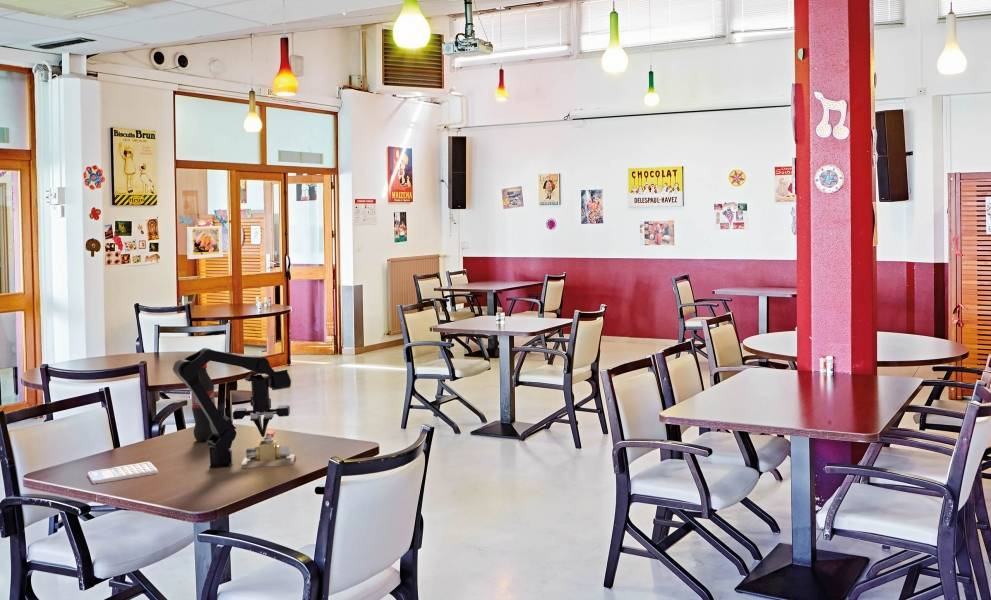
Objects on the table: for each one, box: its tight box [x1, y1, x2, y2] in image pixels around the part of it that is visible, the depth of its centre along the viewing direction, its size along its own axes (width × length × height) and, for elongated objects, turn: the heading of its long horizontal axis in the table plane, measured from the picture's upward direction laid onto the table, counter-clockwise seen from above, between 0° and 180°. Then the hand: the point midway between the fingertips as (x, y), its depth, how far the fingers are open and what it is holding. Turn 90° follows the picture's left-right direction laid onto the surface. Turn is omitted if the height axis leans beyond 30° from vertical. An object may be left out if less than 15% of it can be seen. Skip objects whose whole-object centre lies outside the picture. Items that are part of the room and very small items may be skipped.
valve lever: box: [263, 429, 276, 442], centre depth 314 cm, size 12×3×1 cm, turn 7°
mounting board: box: [240, 453, 297, 469], centre depth 309 cm, size 17×9×1 cm, turn 97°
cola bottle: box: [190, 363, 216, 443], centre depth 343 cm, size 8×8×30 cm
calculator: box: [87, 461, 159, 485], centre depth 302 cm, size 13×20×2 cm, turn 121°
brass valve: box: [245, 439, 291, 462], centre depth 309 cm, size 14×5×6 cm, turn 97°
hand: (263, 436), depth 317 cm, fingers closed
